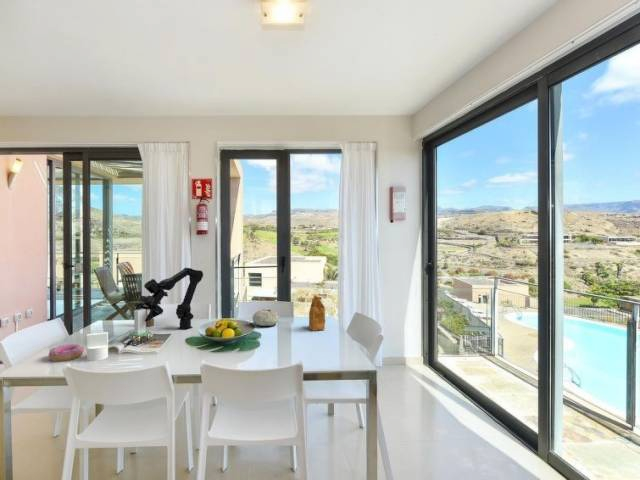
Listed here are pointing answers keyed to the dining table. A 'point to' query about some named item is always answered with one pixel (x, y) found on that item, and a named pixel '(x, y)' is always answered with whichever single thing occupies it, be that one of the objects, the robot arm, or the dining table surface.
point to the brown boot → (151, 321)
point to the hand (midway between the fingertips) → (139, 320)
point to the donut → (66, 352)
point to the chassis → (142, 339)
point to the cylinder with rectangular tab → (97, 346)
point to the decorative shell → (265, 317)
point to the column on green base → (139, 323)
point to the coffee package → (317, 314)
